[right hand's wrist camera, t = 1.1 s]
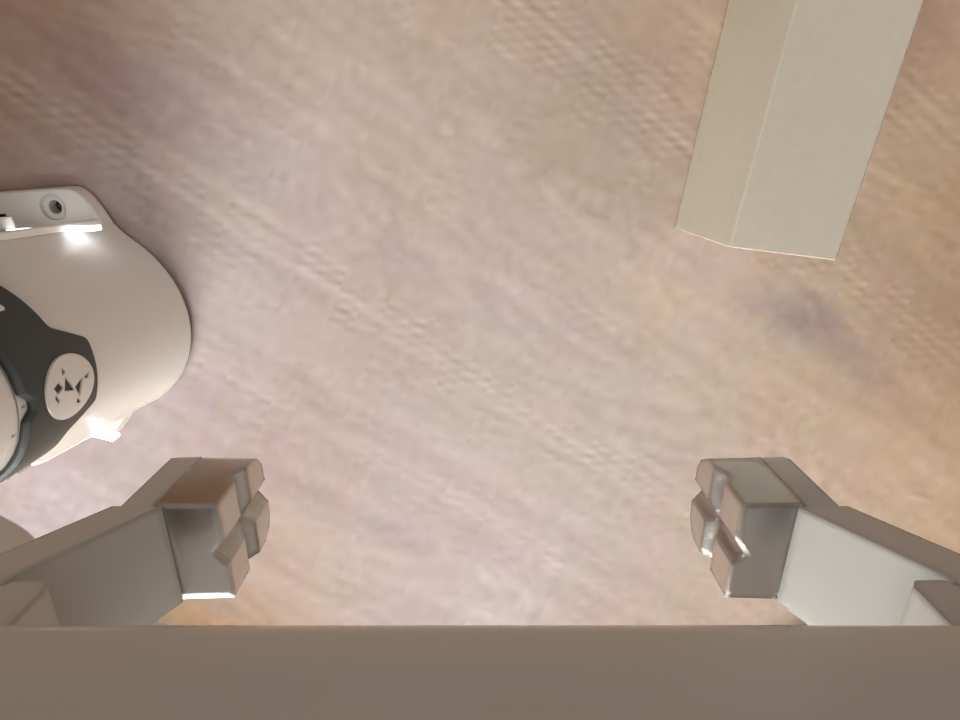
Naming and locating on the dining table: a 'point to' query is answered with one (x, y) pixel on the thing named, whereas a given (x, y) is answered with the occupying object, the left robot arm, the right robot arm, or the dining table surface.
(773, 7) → the box
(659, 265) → the dining table surface
